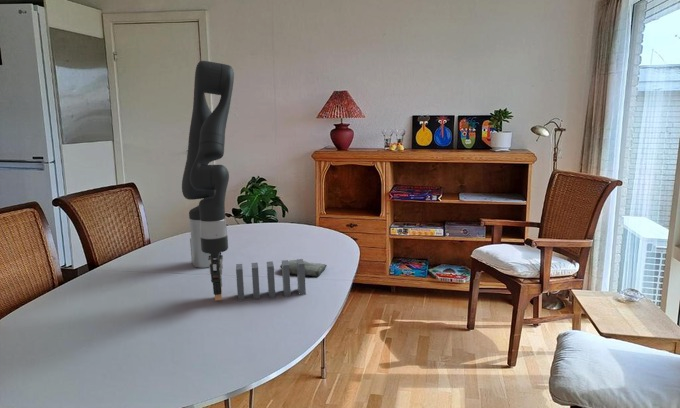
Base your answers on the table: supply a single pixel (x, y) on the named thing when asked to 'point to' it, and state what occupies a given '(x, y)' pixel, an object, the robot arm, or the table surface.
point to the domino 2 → (240, 282)
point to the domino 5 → (286, 278)
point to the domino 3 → (255, 281)
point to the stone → (307, 268)
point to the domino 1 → (219, 297)
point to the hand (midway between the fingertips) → (218, 290)
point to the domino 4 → (271, 279)
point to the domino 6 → (301, 276)
